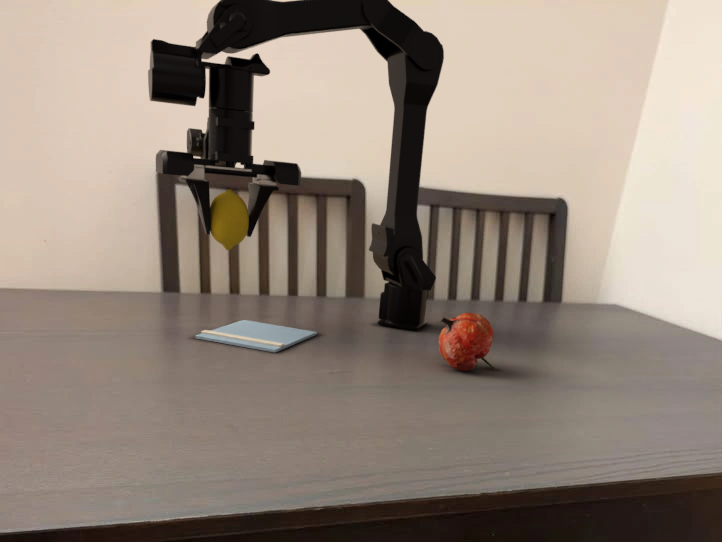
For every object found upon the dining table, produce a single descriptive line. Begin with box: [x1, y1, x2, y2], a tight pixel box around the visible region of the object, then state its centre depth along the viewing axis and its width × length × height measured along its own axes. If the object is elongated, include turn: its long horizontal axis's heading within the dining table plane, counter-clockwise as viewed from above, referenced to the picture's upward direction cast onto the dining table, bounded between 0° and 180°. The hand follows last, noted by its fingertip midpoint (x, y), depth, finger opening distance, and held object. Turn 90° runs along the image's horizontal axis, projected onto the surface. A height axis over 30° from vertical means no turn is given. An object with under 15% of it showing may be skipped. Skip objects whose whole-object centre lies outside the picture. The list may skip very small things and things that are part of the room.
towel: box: [194, 319, 318, 354], centre depth 101 cm, size 12×13×1 cm
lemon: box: [210, 189, 249, 251], centre depth 101 cm, size 6×6×8 cm
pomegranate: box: [438, 312, 495, 372], centre depth 93 cm, size 7×7×10 cm
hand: (228, 235), depth 102 cm, fingers closed on lemon, 5 cm apart
